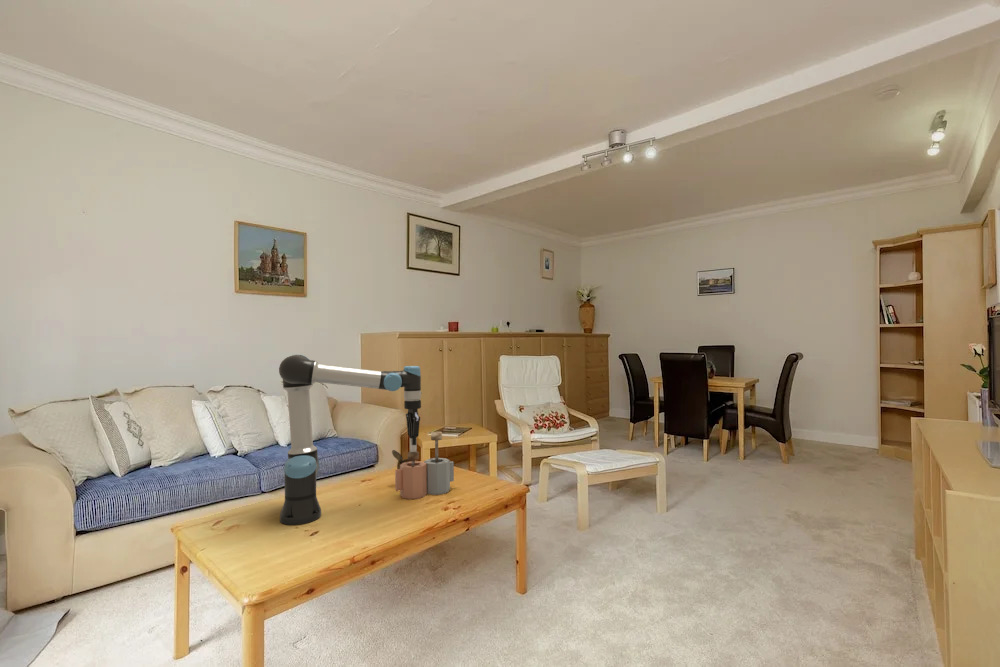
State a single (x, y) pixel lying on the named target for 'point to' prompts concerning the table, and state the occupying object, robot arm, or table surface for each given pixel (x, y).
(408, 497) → the pink octagonal mug
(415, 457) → the taupe plunger
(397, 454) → the wooden mug
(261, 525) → the table surface
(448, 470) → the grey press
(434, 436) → the grey plunger
